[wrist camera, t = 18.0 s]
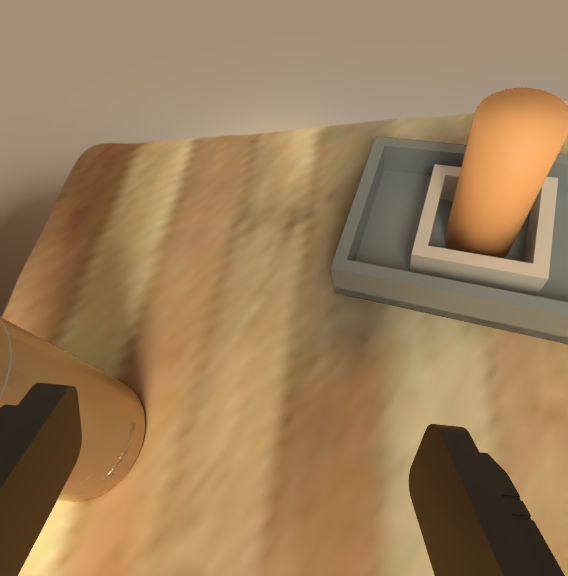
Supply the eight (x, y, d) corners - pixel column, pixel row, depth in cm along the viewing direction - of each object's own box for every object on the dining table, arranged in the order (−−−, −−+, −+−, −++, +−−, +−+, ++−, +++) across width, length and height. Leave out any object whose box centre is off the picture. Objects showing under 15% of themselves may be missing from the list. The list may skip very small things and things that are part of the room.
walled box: (335, 292, 35) (330, 268, 32) (375, 168, 41) (375, 136, 38) (615, 354, 29) (647, 332, 26) (618, 197, 35) (645, 161, 31)
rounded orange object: (439, 259, 34) (467, 145, 24) (450, 210, 36) (480, 85, 26) (507, 271, 32) (569, 155, 22) (515, 220, 34) (575, 90, 24)
